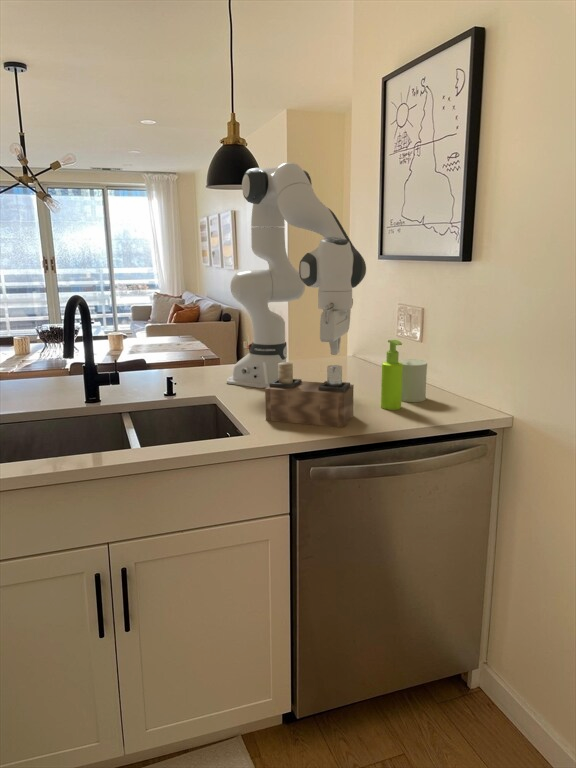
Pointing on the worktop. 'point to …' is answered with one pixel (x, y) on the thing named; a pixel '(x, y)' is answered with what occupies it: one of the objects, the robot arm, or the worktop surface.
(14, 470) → the worktop surface
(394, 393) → the soap dispenser
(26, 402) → the worktop surface
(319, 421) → the walnut block
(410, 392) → the can
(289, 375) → the maple peg
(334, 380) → the steel peg
